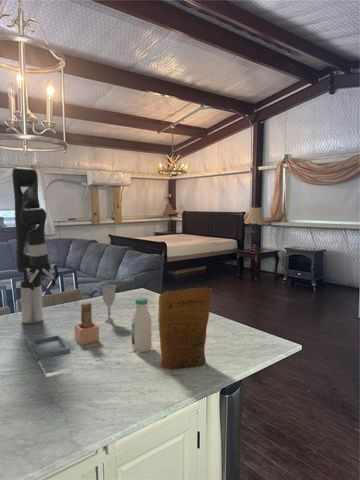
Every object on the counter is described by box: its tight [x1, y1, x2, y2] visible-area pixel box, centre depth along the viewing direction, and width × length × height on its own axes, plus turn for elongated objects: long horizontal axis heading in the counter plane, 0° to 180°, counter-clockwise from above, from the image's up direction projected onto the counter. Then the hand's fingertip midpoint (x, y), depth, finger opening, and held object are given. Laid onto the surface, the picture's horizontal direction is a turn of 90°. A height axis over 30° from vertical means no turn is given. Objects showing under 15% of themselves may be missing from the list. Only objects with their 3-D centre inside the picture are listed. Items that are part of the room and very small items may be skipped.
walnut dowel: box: [80, 302, 93, 329], centre depth 134 cm, size 4×4×15 cm
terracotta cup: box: [74, 321, 100, 346], centre depth 135 cm, size 8×8×7 cm
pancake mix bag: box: [157, 287, 213, 370], centre depth 114 cm, size 7×19×28 cm, turn 102°
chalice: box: [101, 284, 117, 324], centre depth 156 cm, size 7×7×18 cm
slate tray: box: [30, 334, 71, 362], centre depth 127 cm, size 16×11×2 cm
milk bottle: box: [131, 297, 152, 353], centre depth 128 cm, size 8×8×20 cm
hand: (43, 288), depth 148 cm, fingers open, 8 cm apart
